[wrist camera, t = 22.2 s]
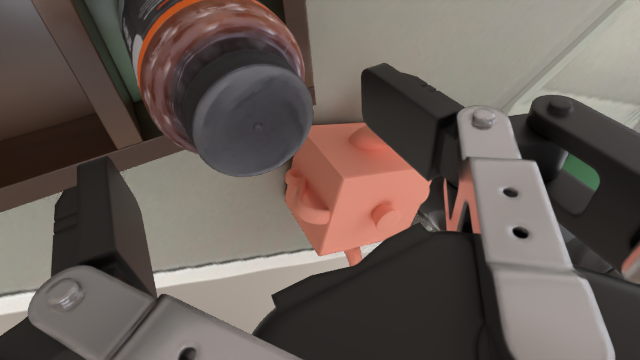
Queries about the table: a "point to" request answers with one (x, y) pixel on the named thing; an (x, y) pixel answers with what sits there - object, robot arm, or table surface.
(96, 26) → the organizer
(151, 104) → the supplement bottle
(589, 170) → the alien toy
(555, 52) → the table surface
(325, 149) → the teapot
